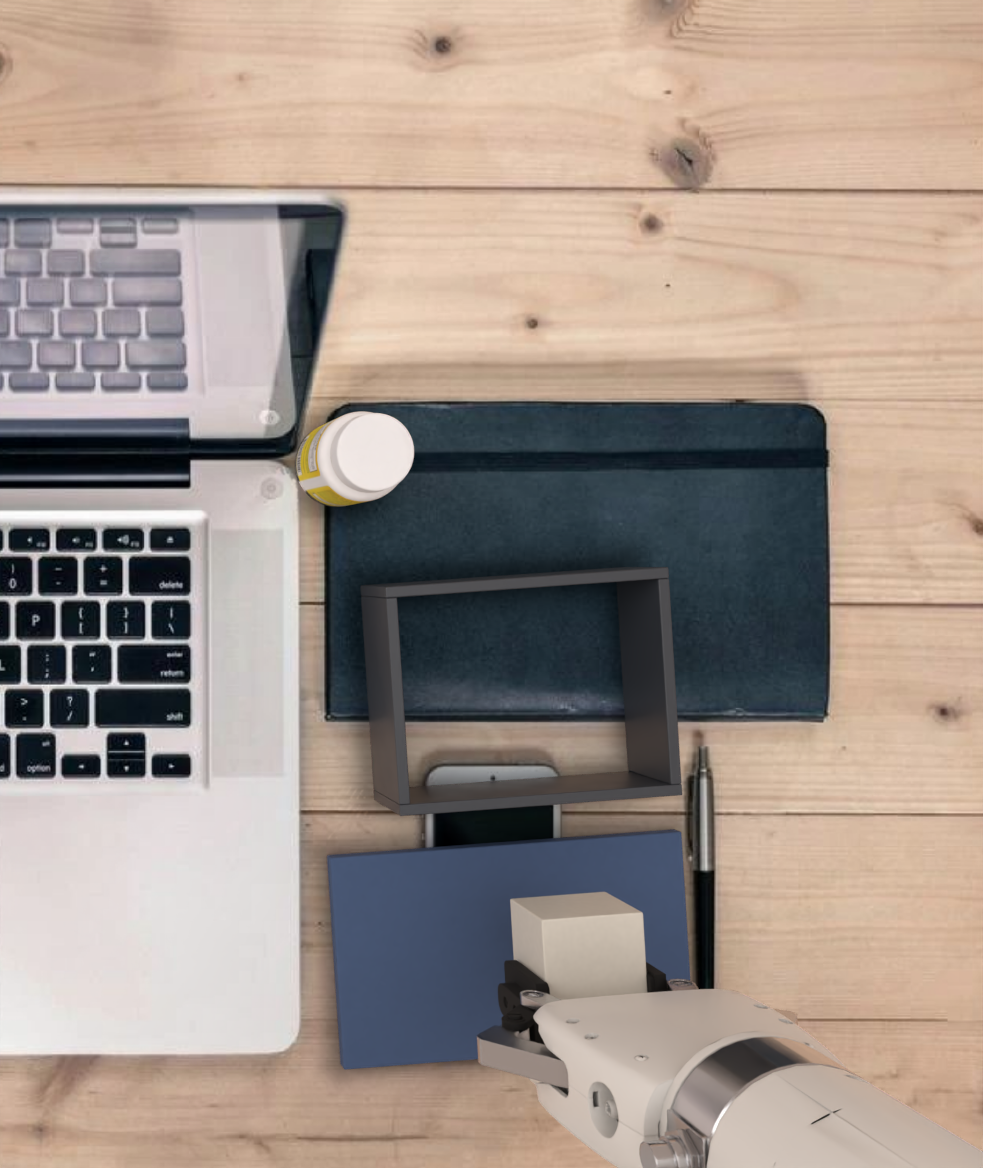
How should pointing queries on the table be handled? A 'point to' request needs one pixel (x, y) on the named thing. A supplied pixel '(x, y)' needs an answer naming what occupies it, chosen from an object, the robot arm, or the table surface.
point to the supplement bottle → (354, 458)
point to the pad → (473, 932)
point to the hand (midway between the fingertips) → (568, 986)
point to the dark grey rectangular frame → (646, 777)
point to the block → (581, 944)
